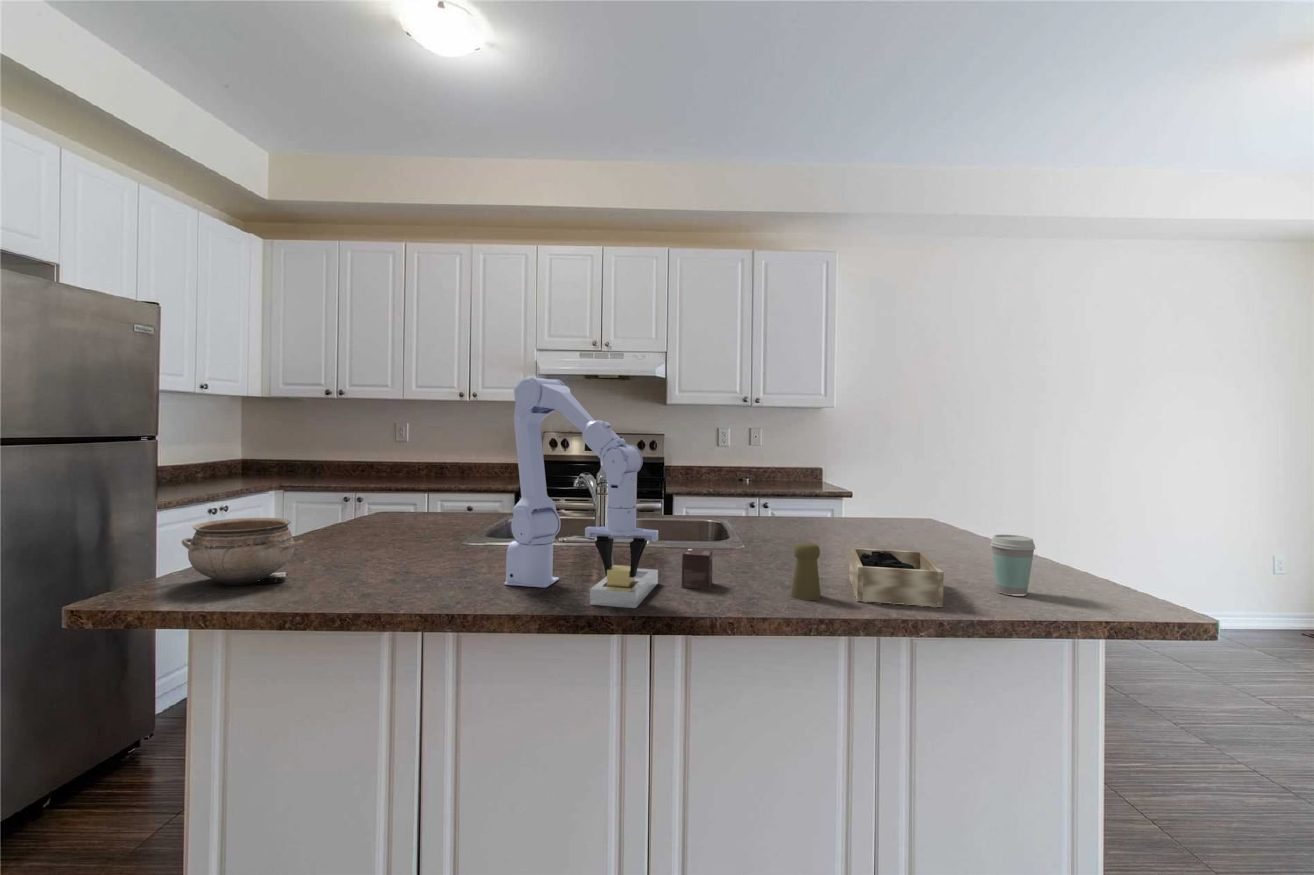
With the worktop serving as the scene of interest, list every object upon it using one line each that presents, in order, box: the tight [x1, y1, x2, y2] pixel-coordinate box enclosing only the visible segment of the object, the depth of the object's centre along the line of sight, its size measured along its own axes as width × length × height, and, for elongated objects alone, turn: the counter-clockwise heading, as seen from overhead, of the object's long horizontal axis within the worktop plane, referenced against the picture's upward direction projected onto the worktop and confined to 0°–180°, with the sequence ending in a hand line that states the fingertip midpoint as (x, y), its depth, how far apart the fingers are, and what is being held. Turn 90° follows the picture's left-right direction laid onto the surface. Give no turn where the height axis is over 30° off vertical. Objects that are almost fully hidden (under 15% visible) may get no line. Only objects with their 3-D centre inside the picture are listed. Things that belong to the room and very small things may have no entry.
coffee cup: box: [990, 534, 1037, 594], centre depth 141 cm, size 8×8×12 cm
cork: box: [790, 541, 822, 601], centre depth 136 cm, size 6×6×11 cm
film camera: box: [859, 551, 915, 569], centre depth 139 cm, size 15×10×9 cm, turn 18°
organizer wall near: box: [862, 566, 938, 606], centre depth 131 cm, size 14×1×7 cm, turn 78°
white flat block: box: [589, 567, 659, 609], centre depth 135 cm, size 9×20×3 cm, turn 168°
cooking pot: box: [181, 517, 304, 586], centre depth 139 cm, size 25×19×12 cm
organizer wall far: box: [854, 547, 921, 570], centre depth 150 cm, size 14×1×7 cm, turn 78°
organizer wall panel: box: [848, 547, 863, 602], centre depth 142 cm, size 1×21×7 cm, turn 168°
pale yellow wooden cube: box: [607, 564, 635, 589], centre depth 131 cm, size 4×4×4 cm
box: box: [681, 548, 713, 590], centre depth 143 cm, size 6×6×7 cm
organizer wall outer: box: [919, 551, 945, 607], centre depth 139 cm, size 1×21×7 cm, turn 168°
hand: (620, 575), depth 131 cm, fingers closed on pale yellow wooden cube, 4 cm apart
